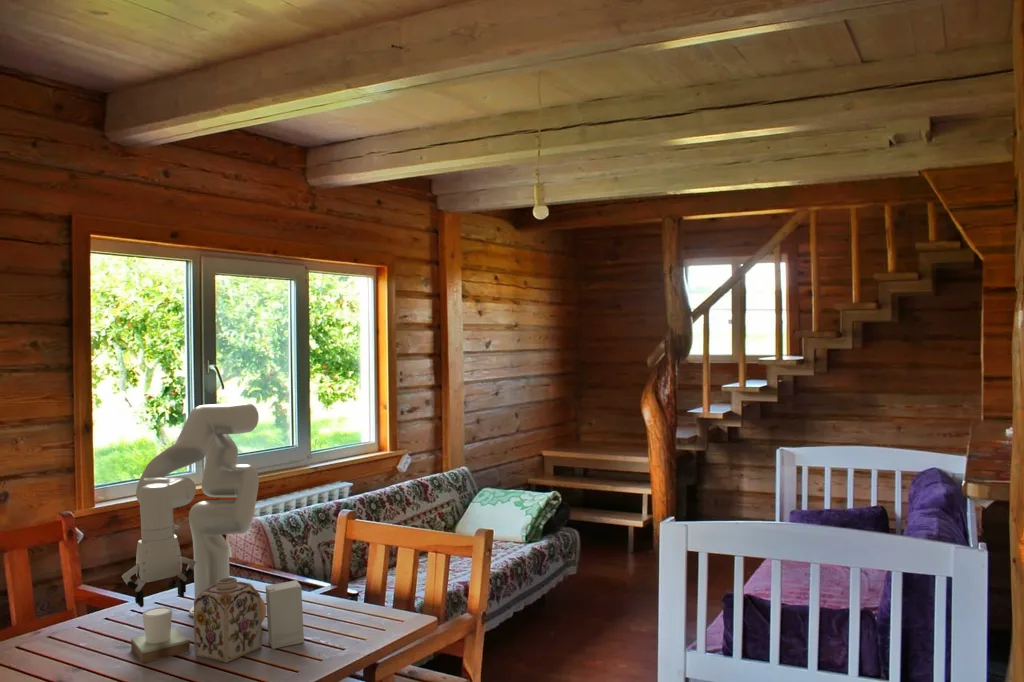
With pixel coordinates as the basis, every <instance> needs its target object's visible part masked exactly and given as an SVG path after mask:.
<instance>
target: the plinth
mask: <svg viewBox="0 0 1024 682" xmlns="http://www.w3.org/2000/svg"><path fill="white" fill-rule="evenodd" d="M130 639H131V640H130V641H131V642H130V645H131V646H130V648H131V649H130V650H131V652H133V654H134V655H135V656H136V657H137V658H138V660H139V661H140V662H141V663H142V664H145V663H150V662H154V661H157V660H162V659H166V658H170V657H174V656H178V655H183V654H186V652H187V653H189V652H190V651H191V650H190V649H191V646H190V645H191V644H190V642H191V641H190V638H188V637H187V636H186V635H185V634H184V633H183V632H182V631H181V630H180V629H179V628H177V627H174V628H171V633H170V639H169V640H167V641H165V642H161V643H147V642H146V638H145V634H144V635H141V636H137V637H136V636H135V637H131V638H130Z"/></svg>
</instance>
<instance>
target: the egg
mask: <svg viewBox="0 0 1024 682" xmlns="http://www.w3.org/2000/svg"><path fill="white" fill-rule="evenodd" d="M260 598H261V624H262V623H263V622H264V620H265V619H266V617H267V605H266V603H265V602H264V600H263V598H262V597H261V596H260Z"/></svg>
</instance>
